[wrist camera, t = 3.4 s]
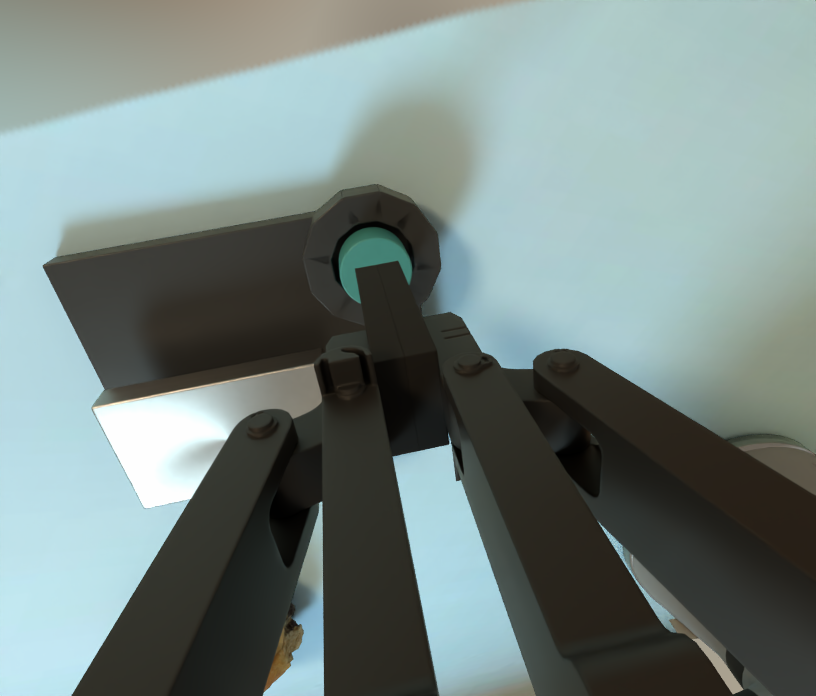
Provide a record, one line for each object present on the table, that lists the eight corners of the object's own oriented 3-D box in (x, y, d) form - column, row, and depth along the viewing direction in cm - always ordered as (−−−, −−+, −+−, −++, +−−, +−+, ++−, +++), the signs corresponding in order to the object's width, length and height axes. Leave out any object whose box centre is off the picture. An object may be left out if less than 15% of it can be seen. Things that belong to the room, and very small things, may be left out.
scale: (419, 171, 24) (431, 182, 21) (451, 428, 31) (464, 460, 28) (44, 236, 22) (6, 256, 20) (167, 487, 30) (151, 527, 27)
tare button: (401, 220, 22) (407, 231, 20) (410, 286, 23) (417, 300, 22) (332, 233, 22) (332, 244, 20) (345, 298, 23) (347, 313, 22)
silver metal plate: (323, 346, 24) (322, 362, 22) (348, 447, 26) (349, 466, 25) (103, 389, 23) (89, 407, 22) (153, 488, 26) (144, 510, 24)
